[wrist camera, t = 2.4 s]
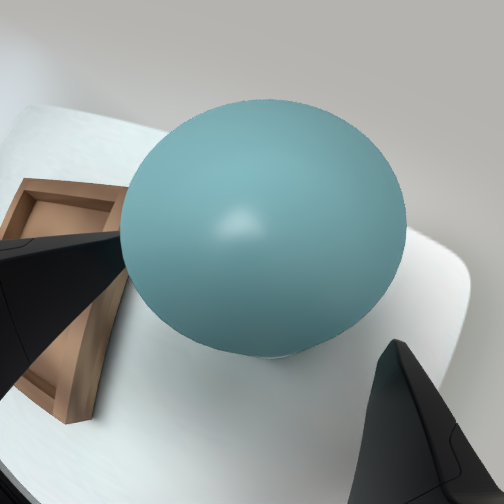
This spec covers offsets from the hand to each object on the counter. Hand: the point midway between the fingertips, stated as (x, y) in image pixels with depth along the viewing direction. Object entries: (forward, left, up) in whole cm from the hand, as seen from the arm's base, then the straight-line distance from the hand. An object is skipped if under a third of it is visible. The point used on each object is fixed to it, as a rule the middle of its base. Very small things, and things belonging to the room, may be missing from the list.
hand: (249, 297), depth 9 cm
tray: (-2, +17, -9) cm, 19 cm away
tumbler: (+1, 0, -9) cm, 9 cm away
